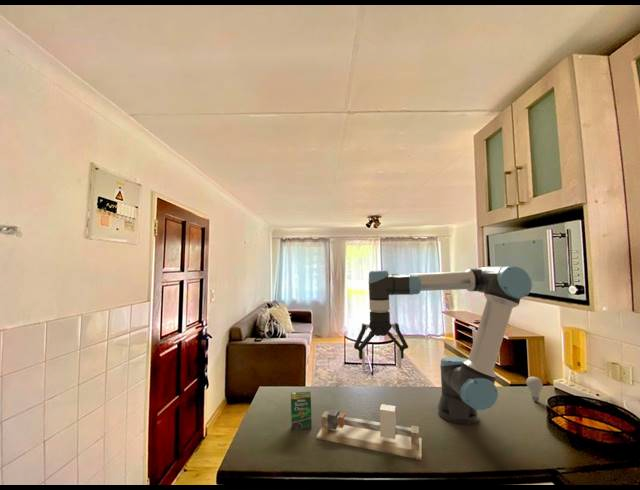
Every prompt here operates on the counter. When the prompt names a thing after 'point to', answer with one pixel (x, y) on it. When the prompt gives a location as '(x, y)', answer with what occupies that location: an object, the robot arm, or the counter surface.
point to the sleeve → (387, 421)
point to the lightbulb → (534, 387)
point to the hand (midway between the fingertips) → (381, 367)
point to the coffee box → (301, 410)
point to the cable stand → (369, 435)
